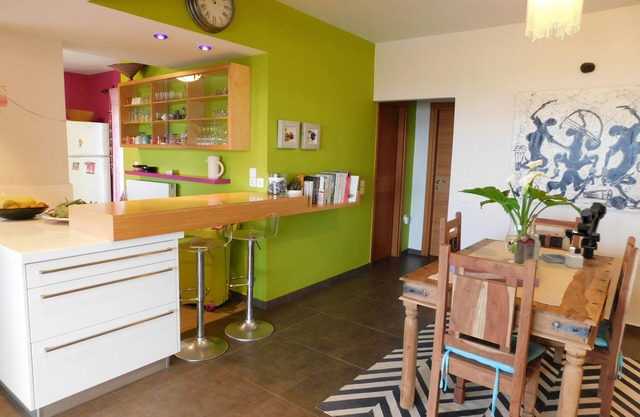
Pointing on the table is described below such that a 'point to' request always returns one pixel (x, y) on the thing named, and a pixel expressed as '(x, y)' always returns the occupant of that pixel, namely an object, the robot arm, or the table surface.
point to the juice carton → (524, 248)
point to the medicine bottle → (574, 258)
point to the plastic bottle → (536, 246)
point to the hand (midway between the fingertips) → (578, 245)
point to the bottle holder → (553, 258)
